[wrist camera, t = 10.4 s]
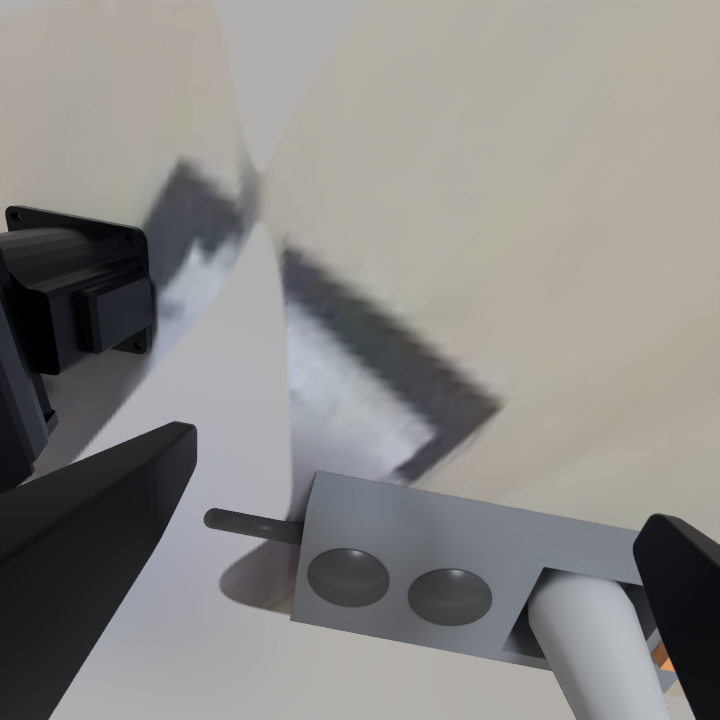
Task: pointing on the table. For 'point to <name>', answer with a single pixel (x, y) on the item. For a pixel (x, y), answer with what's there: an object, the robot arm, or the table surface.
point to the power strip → (440, 567)
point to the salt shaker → (595, 647)
